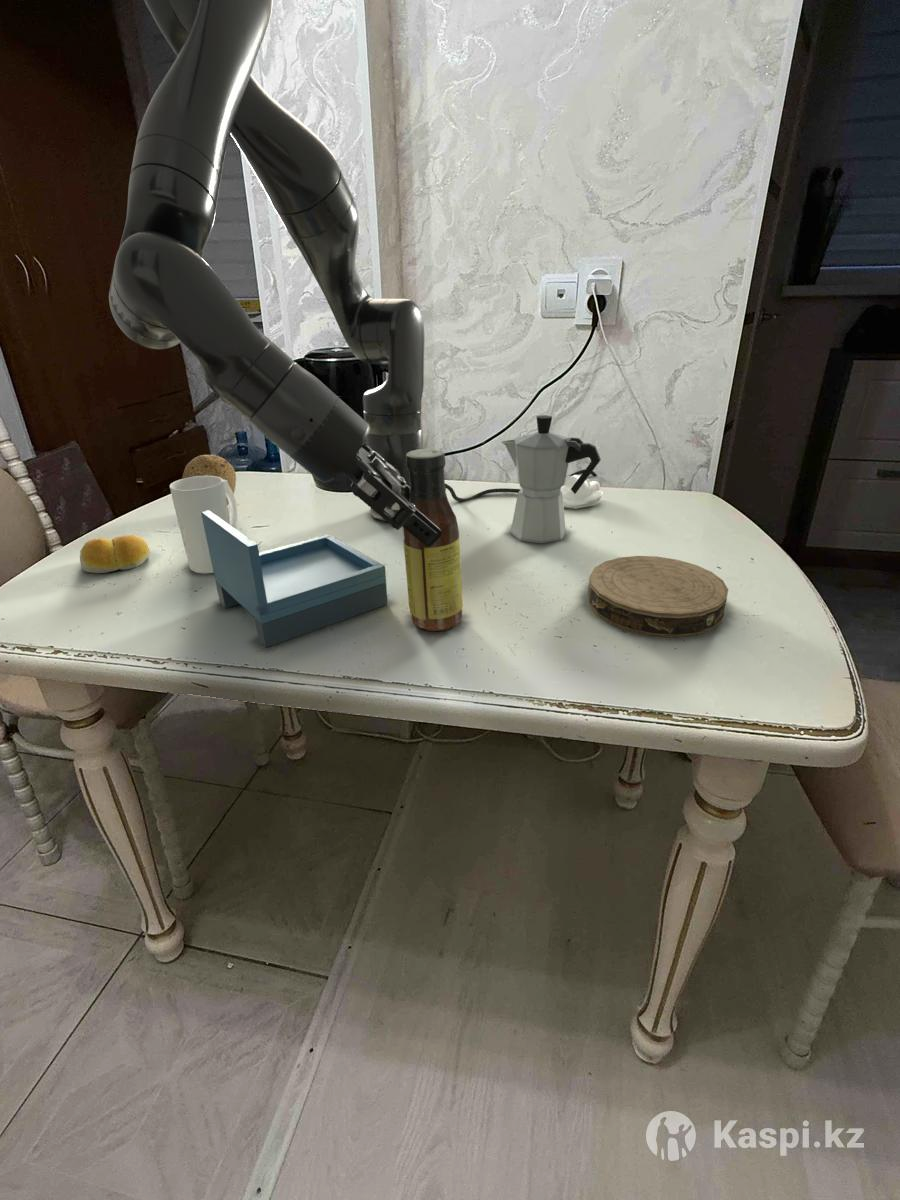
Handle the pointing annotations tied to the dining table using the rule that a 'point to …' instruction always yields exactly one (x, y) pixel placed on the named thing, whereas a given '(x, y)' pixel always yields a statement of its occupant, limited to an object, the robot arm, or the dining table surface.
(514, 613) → the dining table surface
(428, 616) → the sauce bottle
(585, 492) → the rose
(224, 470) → the natural sponge
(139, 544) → the bread roll
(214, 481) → the mug
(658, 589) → the wood log slice
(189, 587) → the dining table surface
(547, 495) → the coffee maker
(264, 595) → the shelf
